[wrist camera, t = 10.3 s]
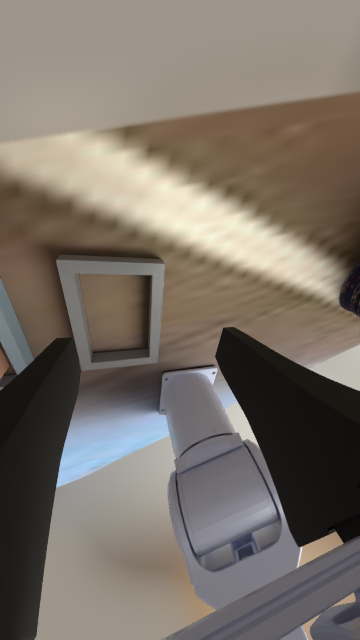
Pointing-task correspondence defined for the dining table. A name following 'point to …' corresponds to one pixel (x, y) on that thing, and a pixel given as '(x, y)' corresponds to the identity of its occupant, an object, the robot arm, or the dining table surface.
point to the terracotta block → (3, 364)
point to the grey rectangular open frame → (75, 305)
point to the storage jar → (351, 292)
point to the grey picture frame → (12, 338)
